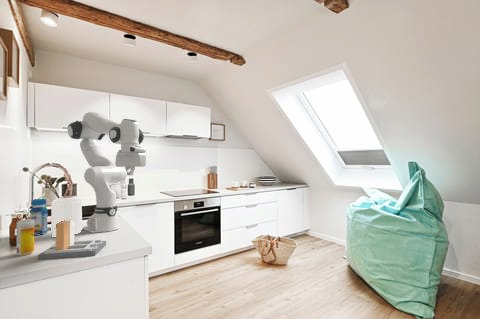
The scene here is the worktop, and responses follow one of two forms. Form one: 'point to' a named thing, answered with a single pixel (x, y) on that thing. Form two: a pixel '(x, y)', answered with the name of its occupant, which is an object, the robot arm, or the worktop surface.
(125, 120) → the robot arm
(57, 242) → the tan wooden block
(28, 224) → the yellow cylinder
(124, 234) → the worktop surface
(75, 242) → the gray compartment tray
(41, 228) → the blue bottle
